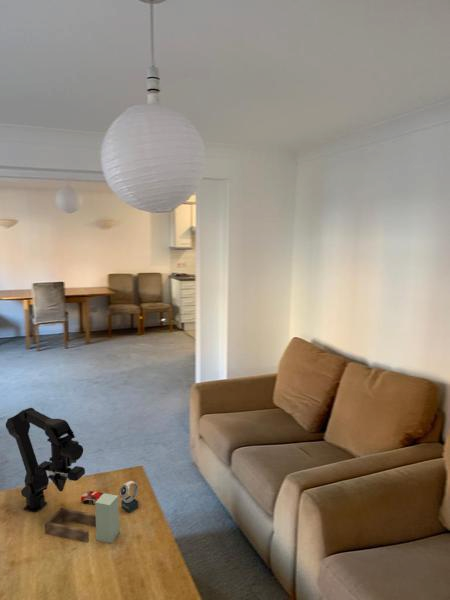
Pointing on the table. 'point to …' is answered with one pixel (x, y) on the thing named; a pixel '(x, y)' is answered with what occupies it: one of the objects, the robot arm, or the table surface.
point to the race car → (91, 497)
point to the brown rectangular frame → (67, 531)
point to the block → (107, 518)
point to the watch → (129, 502)
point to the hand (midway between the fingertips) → (61, 490)
